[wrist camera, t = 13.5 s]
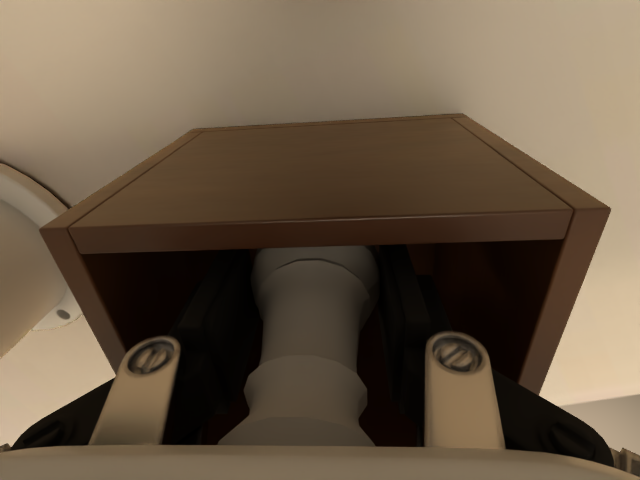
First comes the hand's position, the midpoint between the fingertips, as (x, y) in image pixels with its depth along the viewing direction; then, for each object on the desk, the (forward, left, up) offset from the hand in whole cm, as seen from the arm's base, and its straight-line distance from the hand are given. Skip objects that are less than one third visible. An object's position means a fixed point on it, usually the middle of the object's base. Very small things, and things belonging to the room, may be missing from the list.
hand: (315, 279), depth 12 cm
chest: (0, -2, -9) cm, 9 cm away
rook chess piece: (0, 0, -1) cm, 1 cm away
